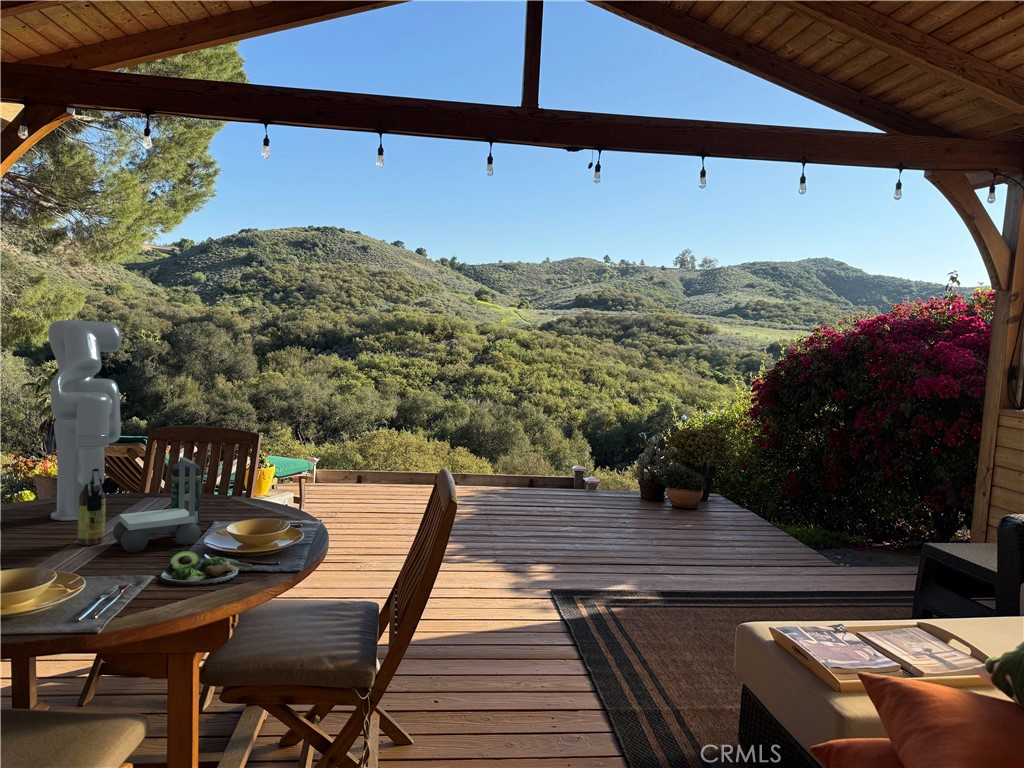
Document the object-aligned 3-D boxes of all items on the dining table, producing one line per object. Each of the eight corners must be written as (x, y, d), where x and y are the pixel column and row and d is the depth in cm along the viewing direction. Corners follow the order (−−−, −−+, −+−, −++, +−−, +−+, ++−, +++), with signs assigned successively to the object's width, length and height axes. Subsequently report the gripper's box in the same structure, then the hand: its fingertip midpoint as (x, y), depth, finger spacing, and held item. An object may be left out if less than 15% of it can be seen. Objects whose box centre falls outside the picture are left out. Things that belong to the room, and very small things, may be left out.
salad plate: (256, 562, 177) (256, 544, 177) (245, 585, 159) (246, 566, 159) (174, 564, 172) (174, 546, 172) (154, 589, 155) (154, 568, 155)
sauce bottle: (91, 547, 182) (92, 472, 181) (71, 544, 184) (72, 470, 183) (110, 540, 189) (111, 468, 188) (91, 538, 190) (92, 466, 189)
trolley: (112, 543, 187) (113, 461, 186) (187, 533, 199) (189, 456, 198) (122, 554, 178) (123, 468, 177) (200, 543, 190) (201, 462, 189)
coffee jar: (168, 521, 212) (169, 460, 211) (196, 518, 216) (197, 459, 215) (173, 528, 204) (174, 465, 203) (202, 525, 208) (203, 464, 207)
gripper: (70, 438, 189) (70, 503, 190) (81, 446, 176) (80, 516, 177) (102, 436, 194) (101, 500, 195) (115, 444, 181) (114, 513, 182)
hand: (91, 507), depth 186 cm, fingers closed on sauce bottle, 6 cm apart
